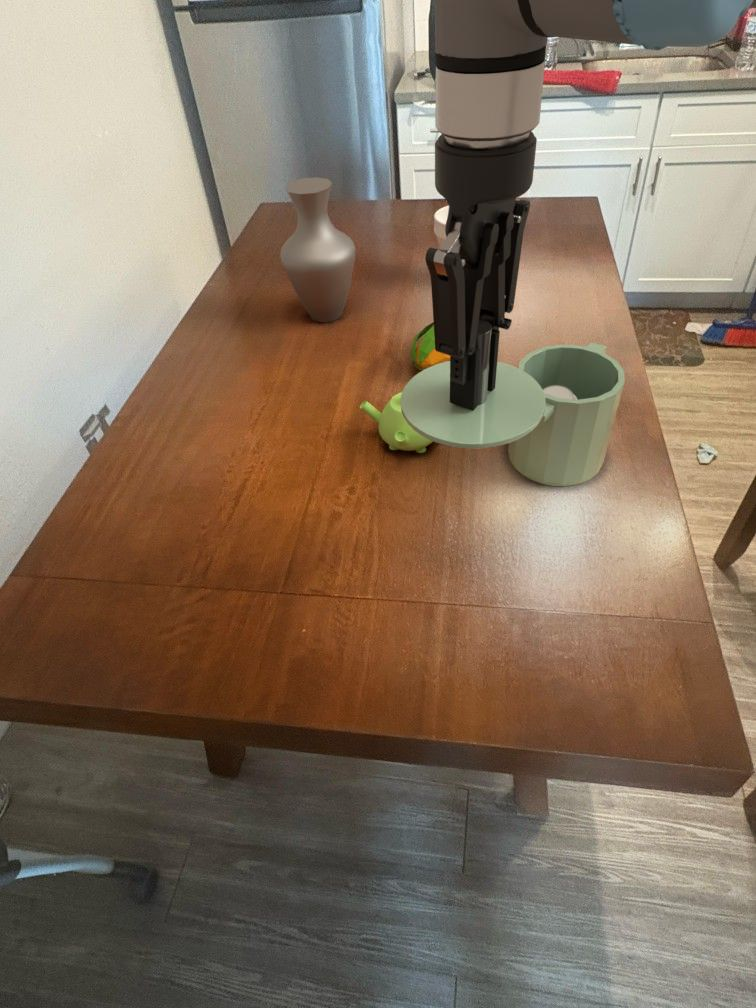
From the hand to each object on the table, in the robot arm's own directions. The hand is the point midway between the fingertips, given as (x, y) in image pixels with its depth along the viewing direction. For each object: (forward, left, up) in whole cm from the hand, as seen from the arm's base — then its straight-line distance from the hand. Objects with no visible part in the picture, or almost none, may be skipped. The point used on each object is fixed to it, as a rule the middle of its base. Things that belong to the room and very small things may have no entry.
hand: (472, 394), depth 61 cm
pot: (-1, -23, -24) cm, 34 cm away
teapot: (+20, -14, -25) cm, 34 cm away
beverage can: (-1, -23, -24) cm, 33 cm away
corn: (+28, -38, -25) cm, 53 cm away
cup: (+41, -65, -25) cm, 81 cm away
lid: (0, 0, -1) cm, 1 cm away
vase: (+57, -38, -25) cm, 72 cm away
